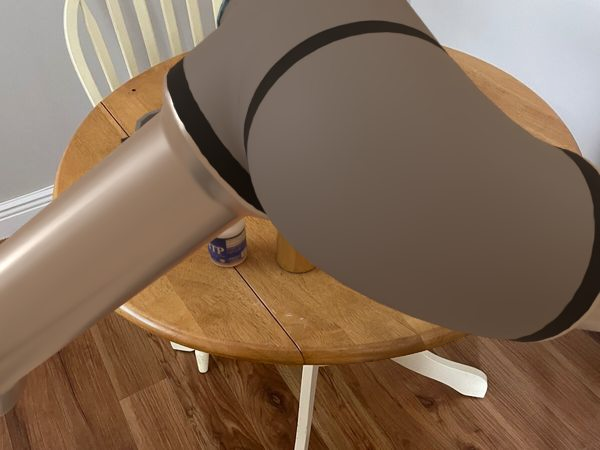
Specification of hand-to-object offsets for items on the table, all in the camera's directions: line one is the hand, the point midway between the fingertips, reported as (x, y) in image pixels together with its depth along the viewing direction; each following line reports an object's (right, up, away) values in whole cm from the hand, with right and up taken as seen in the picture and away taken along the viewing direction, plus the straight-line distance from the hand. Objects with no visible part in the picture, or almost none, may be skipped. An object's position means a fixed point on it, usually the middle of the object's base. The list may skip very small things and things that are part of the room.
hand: (375, 195), depth 67 cm
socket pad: (-30, +9, +31) cm, 45 cm away
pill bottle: (-18, -8, +13) cm, 24 cm away
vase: (-9, -8, +13) cm, 18 cm away
